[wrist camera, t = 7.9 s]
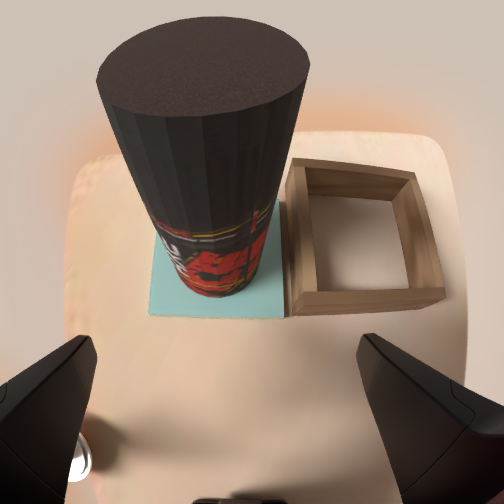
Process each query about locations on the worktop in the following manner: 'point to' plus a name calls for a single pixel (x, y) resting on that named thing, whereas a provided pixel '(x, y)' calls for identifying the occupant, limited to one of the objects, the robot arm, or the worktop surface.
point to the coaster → (231, 307)
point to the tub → (409, 224)
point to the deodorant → (207, 137)
